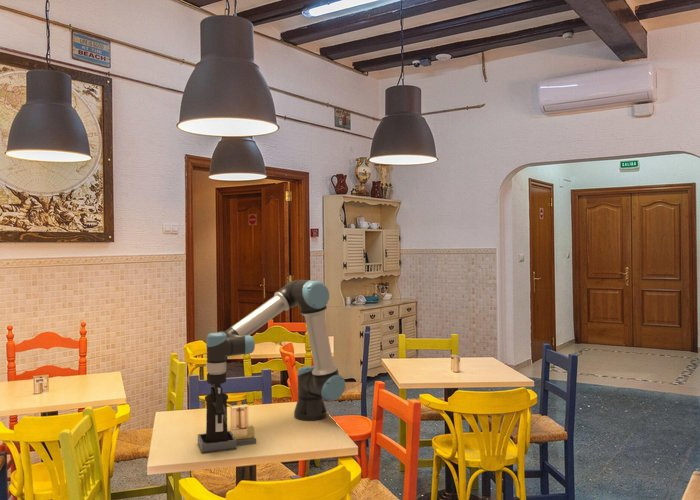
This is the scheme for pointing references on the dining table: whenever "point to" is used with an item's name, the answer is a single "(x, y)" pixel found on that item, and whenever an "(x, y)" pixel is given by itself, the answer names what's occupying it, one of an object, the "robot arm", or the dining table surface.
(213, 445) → the dock cradle
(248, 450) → the dining table surface
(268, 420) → the dining table surface
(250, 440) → the pin rail
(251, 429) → the tan block
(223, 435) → the container
